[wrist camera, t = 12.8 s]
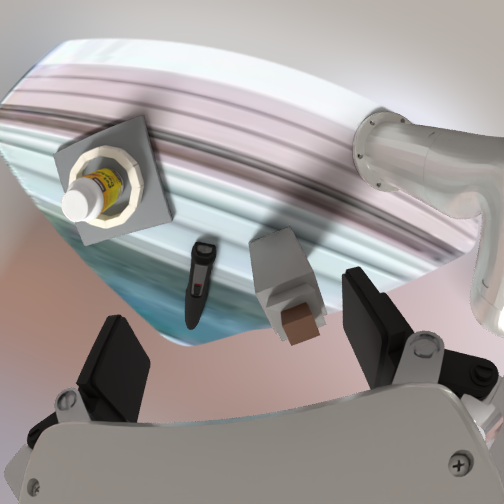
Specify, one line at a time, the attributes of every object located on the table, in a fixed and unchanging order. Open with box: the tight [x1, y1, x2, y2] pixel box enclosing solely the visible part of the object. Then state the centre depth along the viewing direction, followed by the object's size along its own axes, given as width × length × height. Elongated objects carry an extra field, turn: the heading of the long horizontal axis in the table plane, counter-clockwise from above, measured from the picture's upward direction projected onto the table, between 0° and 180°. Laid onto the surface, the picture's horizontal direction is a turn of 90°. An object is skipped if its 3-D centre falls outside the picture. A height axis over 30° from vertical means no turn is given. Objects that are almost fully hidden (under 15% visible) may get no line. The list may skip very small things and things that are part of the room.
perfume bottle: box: [249, 226, 327, 345], centre depth 36 cm, size 7×7×18 cm
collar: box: [53, 115, 173, 246], centre depth 36 cm, size 16×16×3 cm
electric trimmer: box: [185, 242, 216, 330], centre depth 45 cm, size 4×16×3 cm, turn 165°
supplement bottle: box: [62, 168, 123, 222], centre depth 32 cm, size 6×6×10 cm
